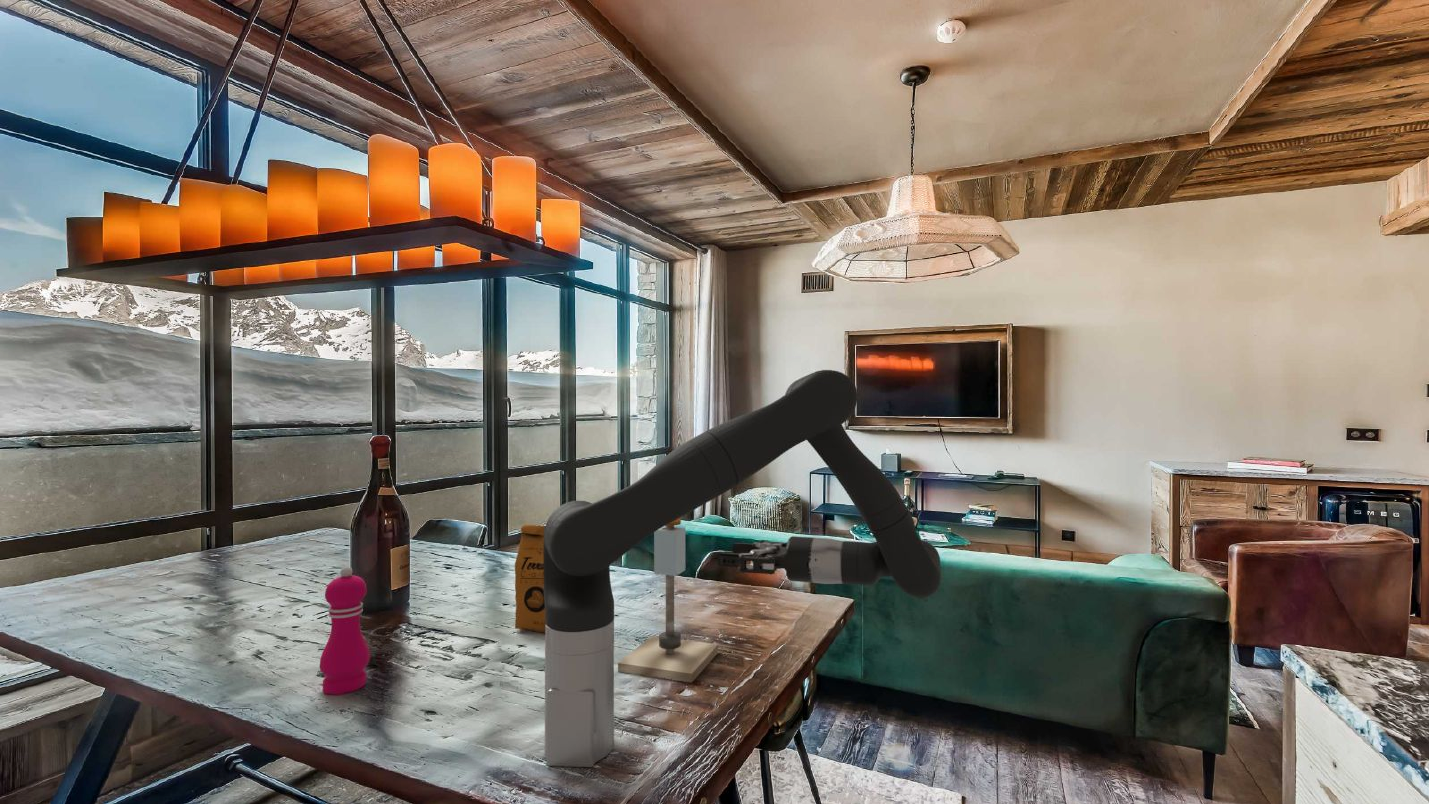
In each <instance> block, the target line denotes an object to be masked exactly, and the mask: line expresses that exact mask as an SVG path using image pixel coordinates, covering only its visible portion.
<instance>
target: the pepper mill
mask: <svg viewBox="0 0 1429 804" xmlns="http://www.w3.org/2000/svg"><path fill="white" fill-rule="evenodd" d="M339 573H340V576H337V578H334V579H333V580H332V581H330V582H329V583H328V584H327V586H326V588H325V592H324V599H325V601H326V603H327V604H329V605H330V606H328V615H327V616H328V618H330V619H331V620H330V621H331V630H330V633H329V636H328V637H329V638H328V640H327V642H326V644H325V647H324V648H323V650H322V653H321V656H320V659H319V670H320V672H321V673H323V675H325V677H323V680H322V692H323V693H324V694H327V695H344V694H348V693H349V694H350V693H351V692H354V691H355V692H356V691H357V690H359V689H361V688H363V687H364V686H365V685H366V684H367V671H366V670H365V668H366V667H367V665H368V664H369V662H370V660H371V656H370V649H369V645H368V643H367V641H366V639H365V637H364V635H363V633H362V630H361V625H360V619H361V618H360V617H361V614H362V613H363V611H364V609H363V606H364V602H362V601H363V600H364V598H365V596H366V595H367V584H366V582H365V580H364V579H363V578H362V577H360V576H358V575H353V568H352V567H351V566H344V567H343V568H341V570H340V571H339Z"/></svg>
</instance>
